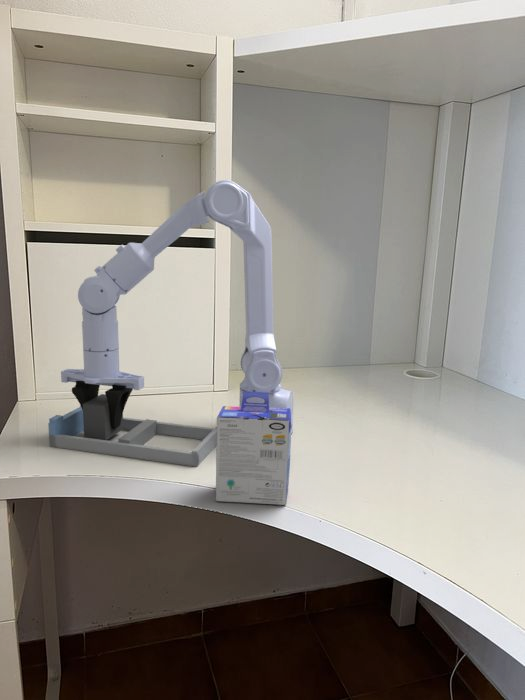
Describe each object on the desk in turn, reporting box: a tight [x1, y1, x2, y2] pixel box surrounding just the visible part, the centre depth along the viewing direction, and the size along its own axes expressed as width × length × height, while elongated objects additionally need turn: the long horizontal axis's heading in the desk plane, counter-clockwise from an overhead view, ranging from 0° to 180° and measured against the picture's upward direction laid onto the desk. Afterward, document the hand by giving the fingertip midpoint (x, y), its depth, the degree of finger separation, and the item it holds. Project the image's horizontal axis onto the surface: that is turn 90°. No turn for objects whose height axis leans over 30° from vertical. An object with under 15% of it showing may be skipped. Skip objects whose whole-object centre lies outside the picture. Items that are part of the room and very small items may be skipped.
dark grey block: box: [83, 393, 124, 441], centre depth 94 cm, size 4×6×6 cm, turn 165°
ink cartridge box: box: [215, 391, 292, 506], centre depth 75 cm, size 10×6×14 cm, turn 86°
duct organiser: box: [48, 404, 217, 468], centre depth 93 cm, size 26×12×5 cm, turn 75°
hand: (103, 425), depth 94 cm, fingers closed on dark grey block, 4 cm apart
